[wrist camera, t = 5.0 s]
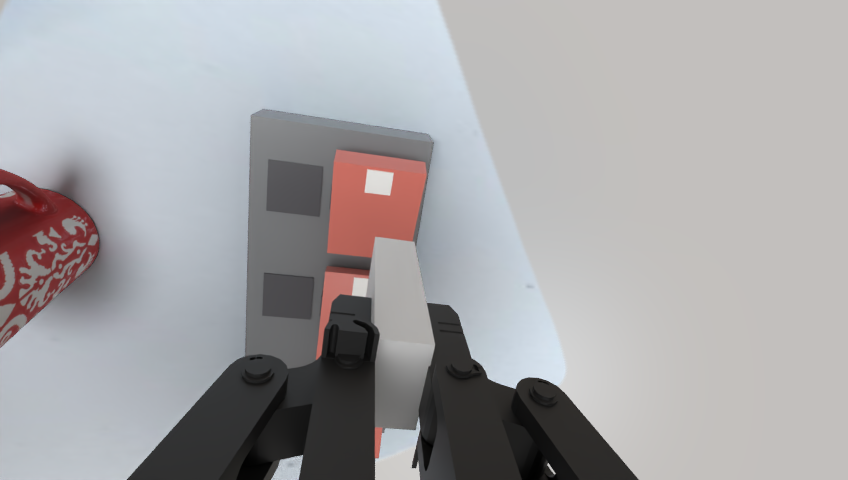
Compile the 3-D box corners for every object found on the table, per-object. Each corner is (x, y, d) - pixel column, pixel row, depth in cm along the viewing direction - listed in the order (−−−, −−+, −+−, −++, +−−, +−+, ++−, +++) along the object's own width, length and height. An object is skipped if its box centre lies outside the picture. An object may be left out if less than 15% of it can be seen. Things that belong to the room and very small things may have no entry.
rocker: (329, 238, 32) (326, 253, 31) (336, 149, 28) (333, 162, 27) (407, 247, 33) (408, 262, 32) (425, 162, 29) (426, 174, 27)
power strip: (252, 430, 43) (239, 471, 39) (263, 109, 32) (246, 117, 28) (378, 436, 45) (378, 475, 41) (427, 134, 34) (435, 145, 30)
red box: (317, 356, 34) (315, 366, 32) (326, 265, 33) (325, 271, 31) (391, 361, 35) (393, 371, 33) (403, 273, 33) (405, 279, 32)
